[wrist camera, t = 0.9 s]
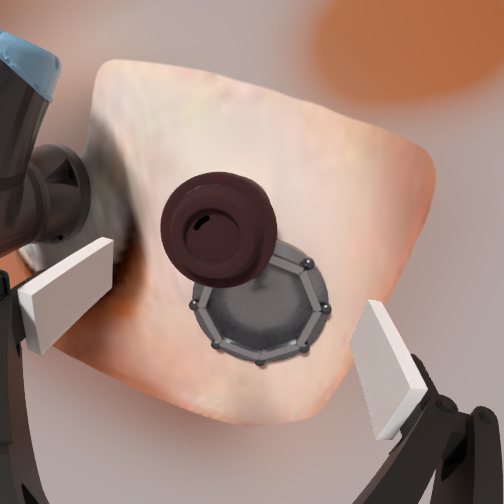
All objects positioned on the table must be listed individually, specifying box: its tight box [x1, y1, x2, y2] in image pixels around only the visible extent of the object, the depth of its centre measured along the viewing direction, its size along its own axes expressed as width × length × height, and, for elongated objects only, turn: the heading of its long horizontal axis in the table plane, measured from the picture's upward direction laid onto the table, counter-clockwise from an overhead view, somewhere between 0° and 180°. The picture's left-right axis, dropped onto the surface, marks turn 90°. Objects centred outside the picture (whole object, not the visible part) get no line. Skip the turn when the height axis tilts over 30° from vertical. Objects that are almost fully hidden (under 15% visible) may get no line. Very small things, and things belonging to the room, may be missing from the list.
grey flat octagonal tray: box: [189, 240, 332, 366], centre depth 41 cm, size 18×18×2 cm
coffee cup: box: [161, 172, 277, 288], centre depth 32 cm, size 10×10×15 cm
